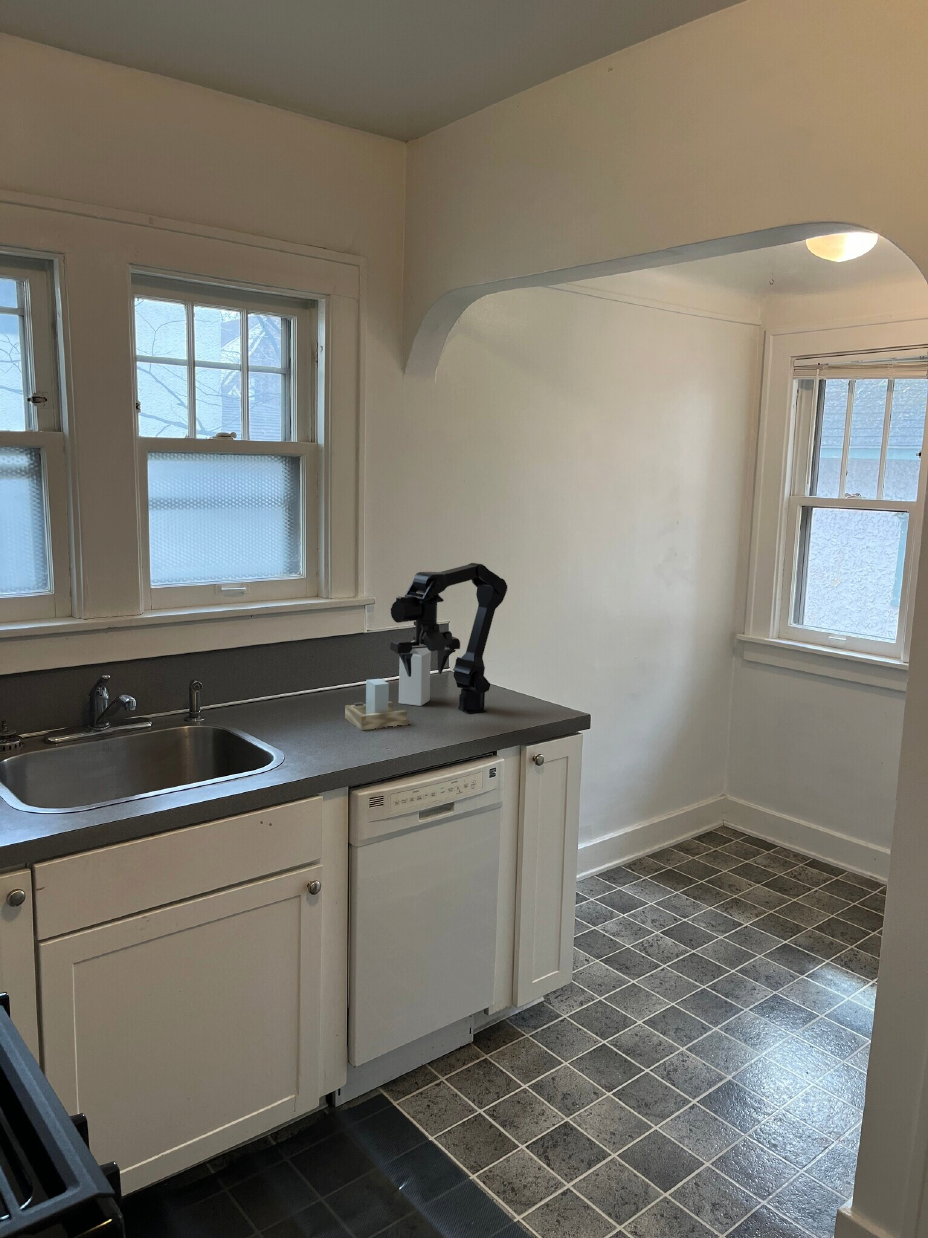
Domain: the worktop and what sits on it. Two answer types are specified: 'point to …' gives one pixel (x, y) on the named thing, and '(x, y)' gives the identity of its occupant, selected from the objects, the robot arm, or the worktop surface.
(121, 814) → the worktop surface
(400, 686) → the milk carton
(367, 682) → the pale blue box
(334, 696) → the worktop surface
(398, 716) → the wooden tray
